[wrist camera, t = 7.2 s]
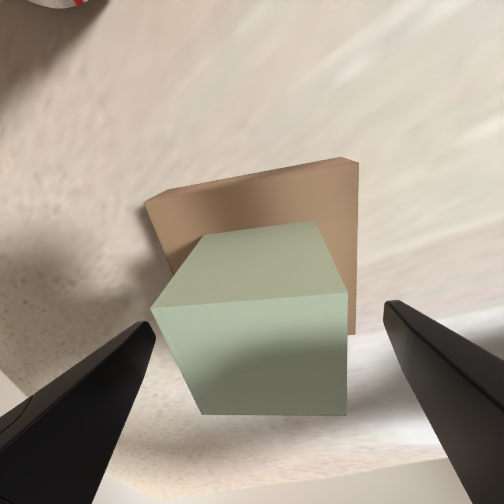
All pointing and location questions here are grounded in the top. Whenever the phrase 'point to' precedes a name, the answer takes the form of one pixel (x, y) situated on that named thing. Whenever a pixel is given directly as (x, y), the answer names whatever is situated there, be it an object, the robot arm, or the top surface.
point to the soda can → (58, 3)
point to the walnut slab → (267, 212)
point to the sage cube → (259, 323)
